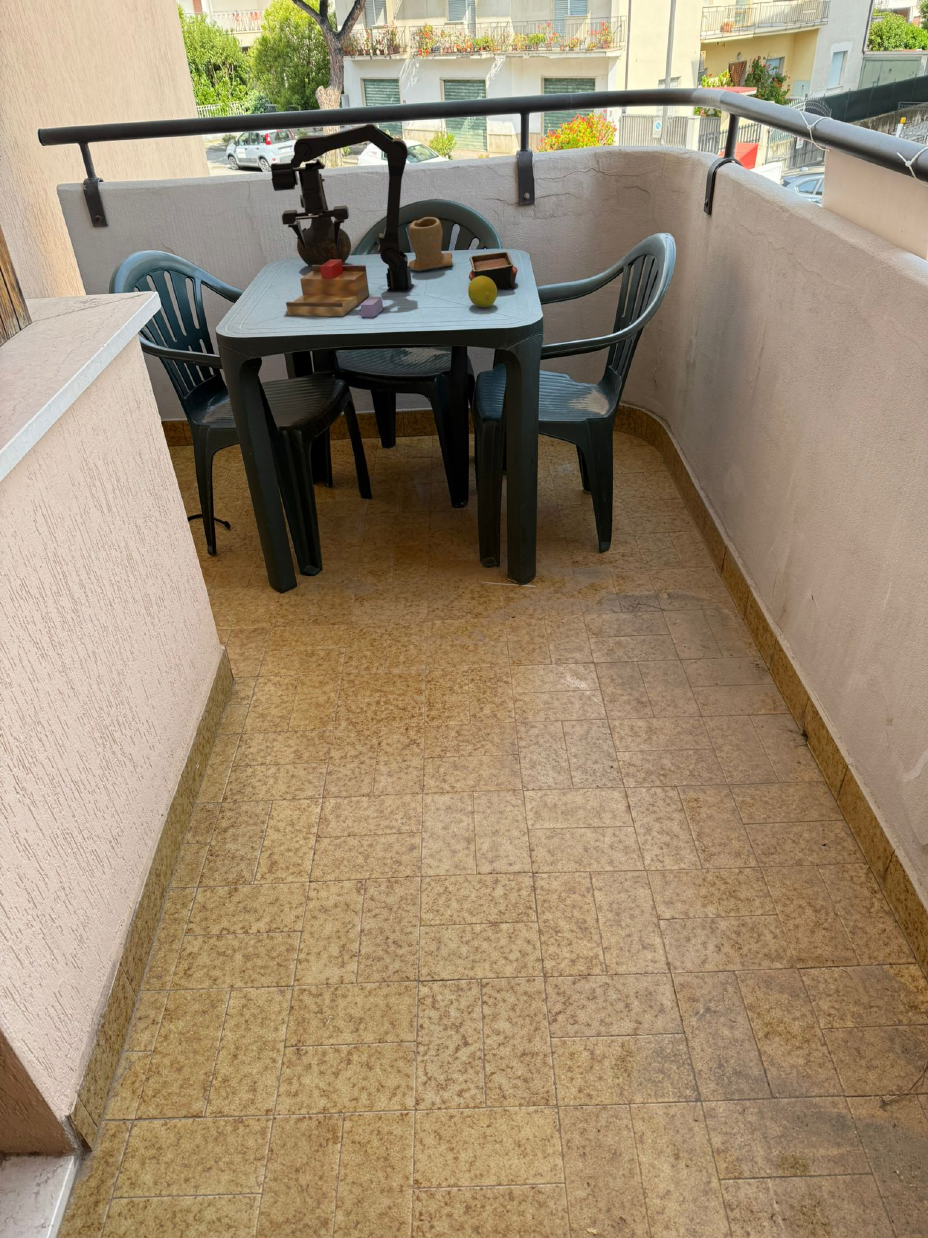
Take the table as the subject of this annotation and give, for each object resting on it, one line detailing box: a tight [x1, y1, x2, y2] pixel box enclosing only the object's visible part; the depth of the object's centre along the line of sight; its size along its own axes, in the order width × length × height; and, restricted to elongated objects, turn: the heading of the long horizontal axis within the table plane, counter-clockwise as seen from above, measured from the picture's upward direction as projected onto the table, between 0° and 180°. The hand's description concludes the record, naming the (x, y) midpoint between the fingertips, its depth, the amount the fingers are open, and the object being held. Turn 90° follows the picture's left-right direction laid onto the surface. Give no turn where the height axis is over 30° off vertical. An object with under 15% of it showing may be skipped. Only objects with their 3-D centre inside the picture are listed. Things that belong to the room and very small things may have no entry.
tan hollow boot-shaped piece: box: [407, 216, 453, 272], centre depth 265 cm, size 15×12×15 cm
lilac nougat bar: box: [359, 296, 384, 318], centre depth 233 cm, size 4×8×3 cm, turn 164°
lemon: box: [467, 276, 498, 308], centre depth 231 cm, size 11×8×8 cm
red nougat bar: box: [320, 260, 343, 279], centre depth 242 cm, size 4×8×3 cm, turn 164°
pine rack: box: [285, 264, 370, 317], centre depth 241 cm, size 17×20×8 cm
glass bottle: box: [296, 172, 352, 268], centre depth 273 cm, size 18×18×28 cm
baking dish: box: [468, 251, 519, 291], centre depth 248 cm, size 14×18×10 cm
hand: (320, 246), depth 244 cm, fingers open, 9 cm apart
